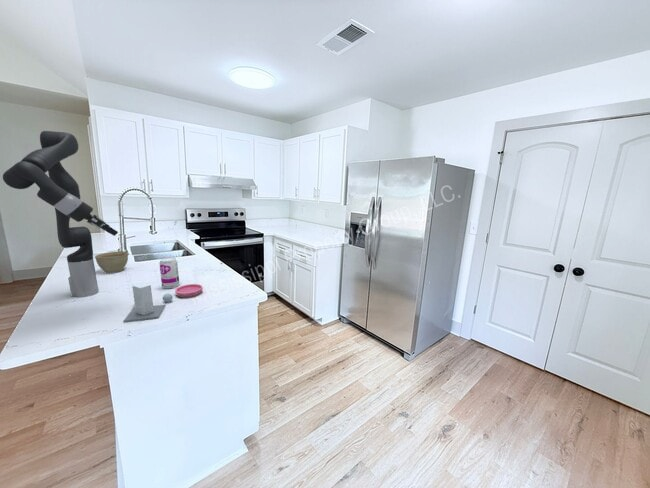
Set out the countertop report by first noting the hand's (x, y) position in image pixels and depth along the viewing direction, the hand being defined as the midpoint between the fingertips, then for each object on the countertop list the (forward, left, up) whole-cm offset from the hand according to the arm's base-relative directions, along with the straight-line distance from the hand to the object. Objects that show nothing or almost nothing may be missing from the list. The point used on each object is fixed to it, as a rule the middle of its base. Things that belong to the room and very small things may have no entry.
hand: (113, 232), depth 114 cm
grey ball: (+19, -5, -33) cm, 38 cm away
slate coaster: (+13, -16, -33) cm, 38 cm away
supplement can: (+16, +17, -33) cm, 40 cm away
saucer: (+27, +3, -33) cm, 43 cm away
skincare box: (+13, -16, -32) cm, 38 cm away
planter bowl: (-23, +56, -33) cm, 69 cm away
